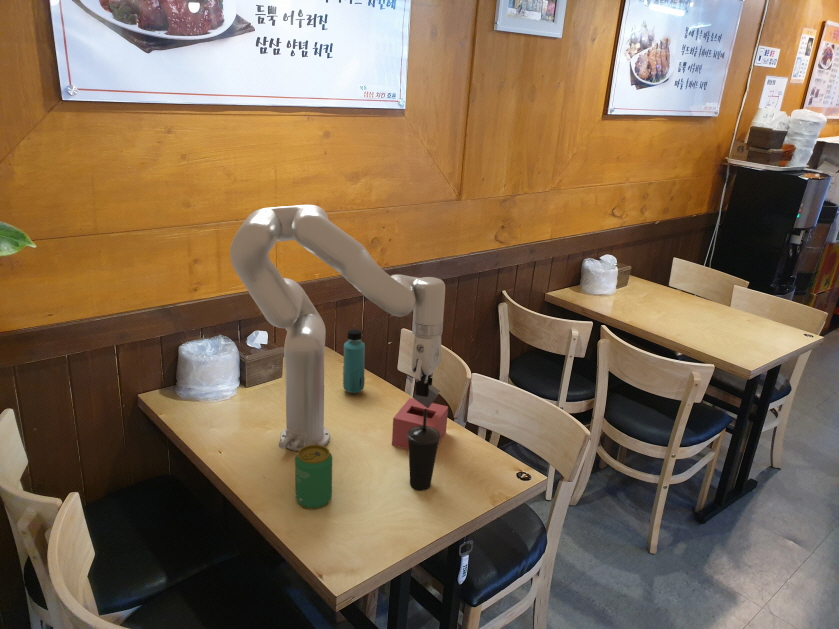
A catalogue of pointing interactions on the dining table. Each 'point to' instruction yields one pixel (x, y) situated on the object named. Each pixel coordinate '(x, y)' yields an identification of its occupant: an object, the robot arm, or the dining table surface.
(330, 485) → the beverage can
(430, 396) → the grey flat block
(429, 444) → the drinking cup
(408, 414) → the red slotted block
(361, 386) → the beverage bottle
